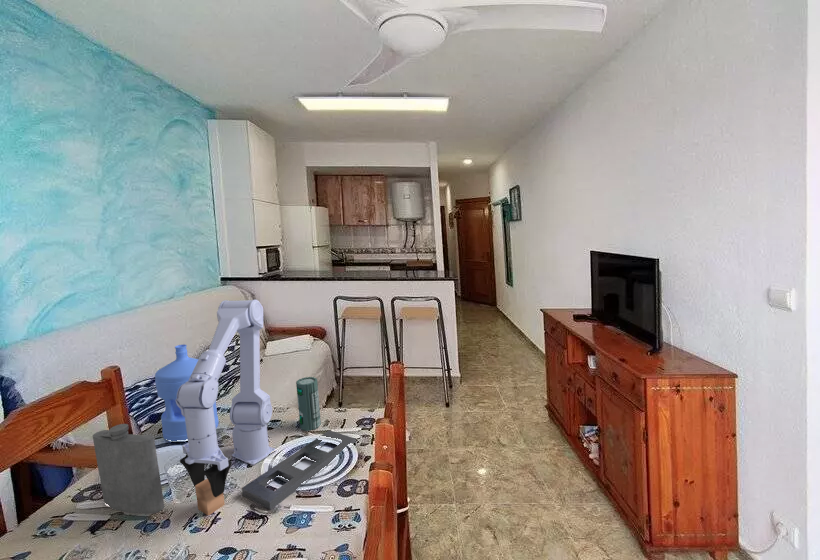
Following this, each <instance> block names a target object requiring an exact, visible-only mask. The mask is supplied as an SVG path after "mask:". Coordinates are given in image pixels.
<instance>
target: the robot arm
mask: <svg viewBox="0 0 820 560" xmlns="http://www.w3.org/2000/svg"><path fill="white" fill-rule="evenodd" d="M216 318H217V321H218V324H217V326H216V329H215V331H214V334H213V336H212V337H213V338H212V340H211V343H210V345H209V348H208V350H206V351H203V352H202V353H201V354H200V356H199V358H198V359H199V360H198V362H197V364H196V366H195V368H194V370H193V372H192V374H191V376H190V378H189V380H188V381H187V382H185V384H183V385H181V386H180V388H179V389H178V392H177V399H176V404H177V406H178V407H179V408H180V409H181V413H182V415H183V416H184V417H185V422H186V430H187V437H188V442H185V443H183V444H182V446H181V447H182V454H184V455H185V456H183V457H182V458H180V460H179V463H180V464H181V465H182V466H183V467H184V468H185V470H186V471H187V473H188V475H189V477H190V481H192V484H193V486H194V487H195V485H197V484H199V483H200V482H202V481H204V480H206V479H208V481H209V483H210V486H211V490H212V493H213V496H214V497H217V496H219V495H221V494H222V493H223V494H224V493H225V488H226V487H225V486H226V481H227V477H228V474H229V471H230V469H231V467H232V465H233V464H232V463H233V462H232V461H231V460H229V458H228V457H226V456H225V455H224V453H223V451H222V450H221V448H220V446H219V445H218V443H219V442H218V437H217V436H218V435H217V428H216V426H215V418H214V410H213V404H214V403H215V401H217V399H218V393H219V391H218V389H219V386H220V385H219V384H220V383H219V382H218V381H219V379H220V376H221V375H222V372H223V369H224V367H225V365H226V362H227V360H226V359H227V358H226V357H225V355H224V354H225V352H226V351H227V350H228V347H229V345H230V344H231V342H232V340H233V338H234V336H235V334H236V333H238V334H239V372H240V373H239V377H240V378H239V388H240V389H239V392H238V393H237V394H236V395H235V396H233V397H232V399H231V407H230V410H229V420H230V423H232V425H233V426H234V427H233V429H232V433H231V434H232V435H231V436H232V442H233V443H232V445H233V451H234V452H233V453H232V454H231V457H233V458H235V459H238V460H239V461H243V462H244V463H246V464H249V465H251V466H254V465H256V464H258V463H259V462H260V461H263V460H264V459H266V458H267V457H268V455H269V454H270V453H271V452H272V451H274V450H275V449H276V448H274V447H272V446H270V444H269V442H270V441H269V435H268V427H267V426H268V424H269V423H270V421H271V418H272V415H273V406H272V402H271V395H269V394H268V393H267V392H266V391H264V390H263V389H261V378H260V377H261V362H260V361H261V348H260V347H261V346H260V342H261V341H260V340H261V337H260V333H261V332H260V330H262V329H264V307H263V305H262V303H261V302H260V301H259V300H258V299H248V300H247V299H245V300H243V299H241V300H227V299H226V300H225V299H224V300H222V301H221V302H220V303H219V305H218V308H217V311H216ZM270 455H271V454H270ZM270 455H269V456H270ZM206 464H208V465H211V466H210V467H209V468H205V466H206ZM205 478H206V479H205Z"/></svg>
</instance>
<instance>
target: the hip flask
mask: <svg viewBox="0 0 820 560" xmlns="http://www.w3.org/2000/svg"><path fill="white" fill-rule="evenodd" d="M129 429H130V427H129V424H128V423H120V424H115V425H114V426H111V427H110V428H109V429H103V430H99V431H97V432H95V433H94V434H92V440H93V441H92V442H93V446H94V447H93V448H94V452H95V458H96V464H97V469H98V475H99V482H100V486H101V493H102V497H103V499H102V500H103V503H104V502H105V503H106V504H108V505H109V506H110V507H111V508H113V509H112V510H114V509H116V511H118V510H119V511H120V512H123V511H124V513H129V514H130V513H131V514H140V515H141V514H145V515H146V514H147V515H149V514H152V515H153V514H156V513H159V512H161V511H162V510H163V509H164V508H165V502H164V501H165V500H164V495H163V488H162V482H161V475H160V467H159V461H158V455H157V448H156V442H155V435H154V434H132V433H129ZM111 508H110V509H111ZM119 511H118V512H119Z"/></svg>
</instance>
